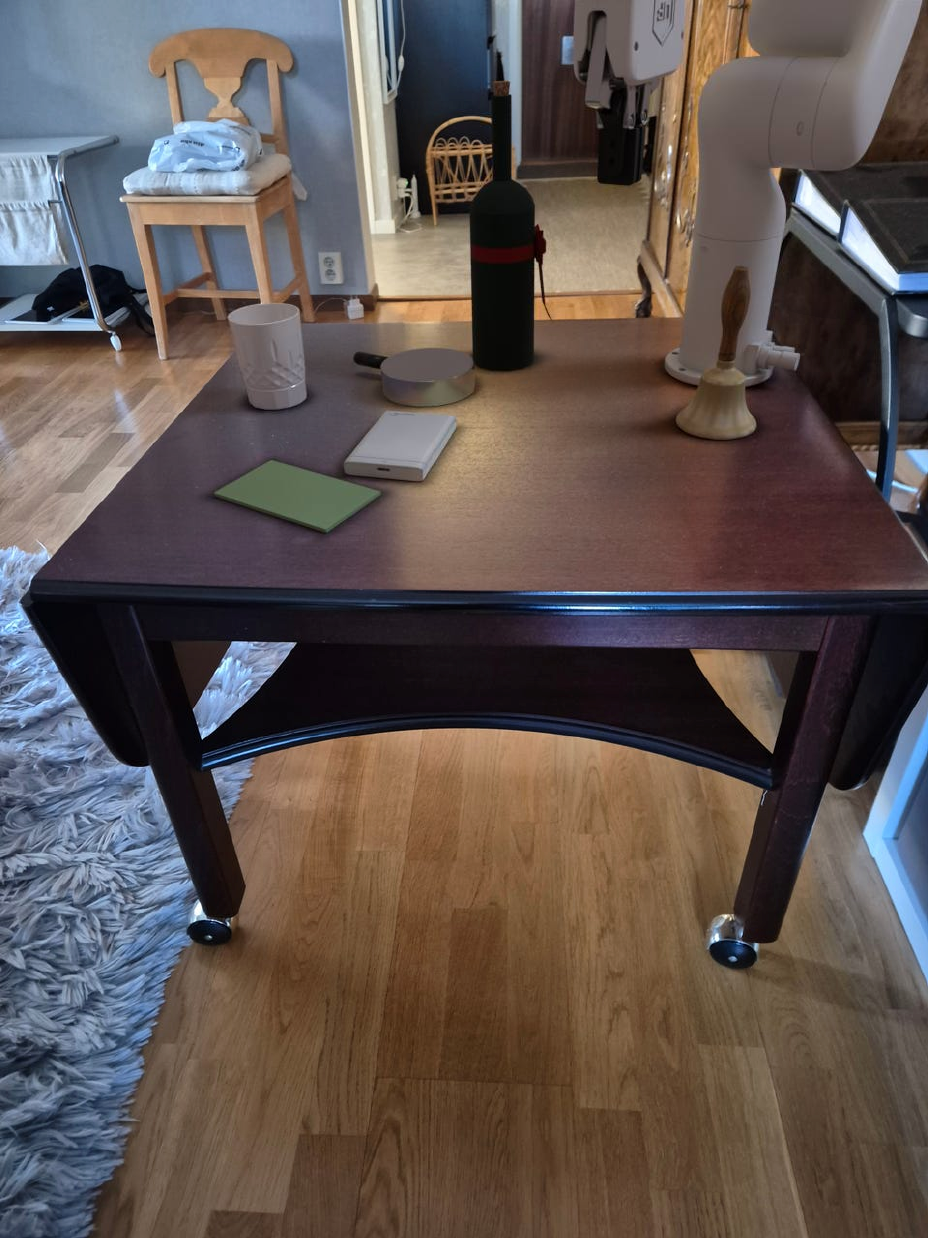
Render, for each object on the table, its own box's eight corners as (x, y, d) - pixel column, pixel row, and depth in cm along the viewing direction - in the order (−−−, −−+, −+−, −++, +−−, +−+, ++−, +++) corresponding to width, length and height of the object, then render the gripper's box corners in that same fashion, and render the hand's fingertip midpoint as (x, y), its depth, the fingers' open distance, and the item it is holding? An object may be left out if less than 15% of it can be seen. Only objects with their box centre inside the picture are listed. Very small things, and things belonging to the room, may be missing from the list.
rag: (381, 495, 80) (380, 491, 80) (326, 533, 75) (325, 529, 74) (271, 463, 86) (271, 459, 86) (214, 496, 81) (213, 492, 81)
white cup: (319, 386, 103) (307, 302, 97) (302, 412, 96) (288, 324, 90) (256, 386, 103) (240, 302, 97) (236, 412, 97) (217, 324, 91)
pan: (492, 380, 102) (491, 356, 100) (441, 413, 95) (440, 387, 93) (383, 358, 109) (380, 335, 108) (328, 387, 102) (324, 363, 100)
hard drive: (384, 409, 92) (342, 459, 83) (456, 415, 90) (422, 466, 81) (385, 424, 93) (344, 474, 83) (457, 429, 91) (424, 482, 82)
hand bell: (770, 421, 90) (800, 263, 80) (731, 447, 85) (758, 283, 76) (701, 402, 95) (722, 250, 85) (660, 426, 90) (678, 269, 80)
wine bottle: (557, 367, 105) (567, 81, 87) (476, 373, 104) (468, 86, 86) (545, 345, 111) (551, 75, 93) (469, 351, 110) (460, 80, 92)
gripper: (639, -122, 51) (620, 207, 63) (727, -118, 61) (697, 167, 72) (532, -111, 55) (533, 199, 66) (631, -108, 64) (617, 162, 75)
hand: (619, 181), depth 69 cm, fingers closed
